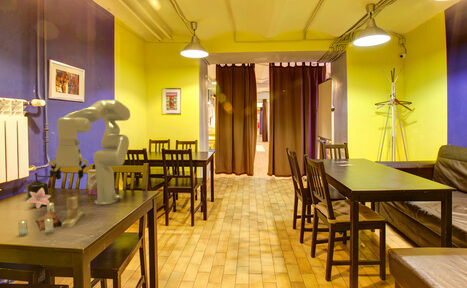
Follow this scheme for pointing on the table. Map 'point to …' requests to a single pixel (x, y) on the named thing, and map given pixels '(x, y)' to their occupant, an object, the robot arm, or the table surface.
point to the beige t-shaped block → (72, 212)
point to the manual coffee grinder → (38, 185)
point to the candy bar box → (92, 182)
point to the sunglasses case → (49, 215)
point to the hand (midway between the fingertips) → (69, 178)
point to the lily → (39, 198)
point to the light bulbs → (48, 222)
